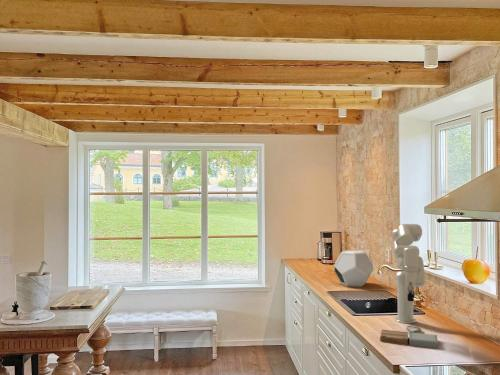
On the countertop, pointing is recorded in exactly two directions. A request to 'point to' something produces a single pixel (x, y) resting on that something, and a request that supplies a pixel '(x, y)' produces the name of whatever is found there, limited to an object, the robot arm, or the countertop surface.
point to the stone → (414, 329)
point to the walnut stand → (394, 337)
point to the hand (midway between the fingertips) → (410, 299)
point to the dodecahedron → (353, 268)
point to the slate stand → (423, 340)
